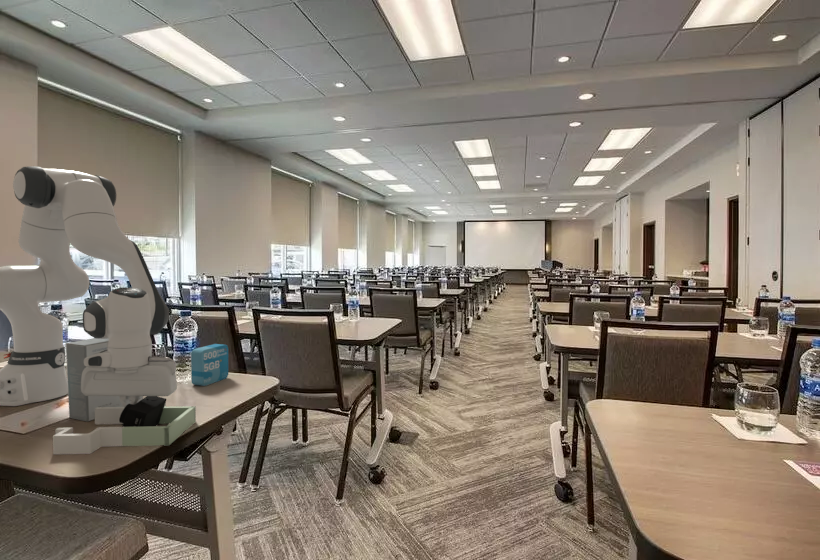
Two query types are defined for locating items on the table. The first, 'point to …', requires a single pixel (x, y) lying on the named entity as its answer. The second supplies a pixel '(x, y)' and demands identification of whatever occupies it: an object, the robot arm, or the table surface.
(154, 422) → the digital camera
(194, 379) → the data package
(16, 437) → the table surface
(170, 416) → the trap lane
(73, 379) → the hard drive box
